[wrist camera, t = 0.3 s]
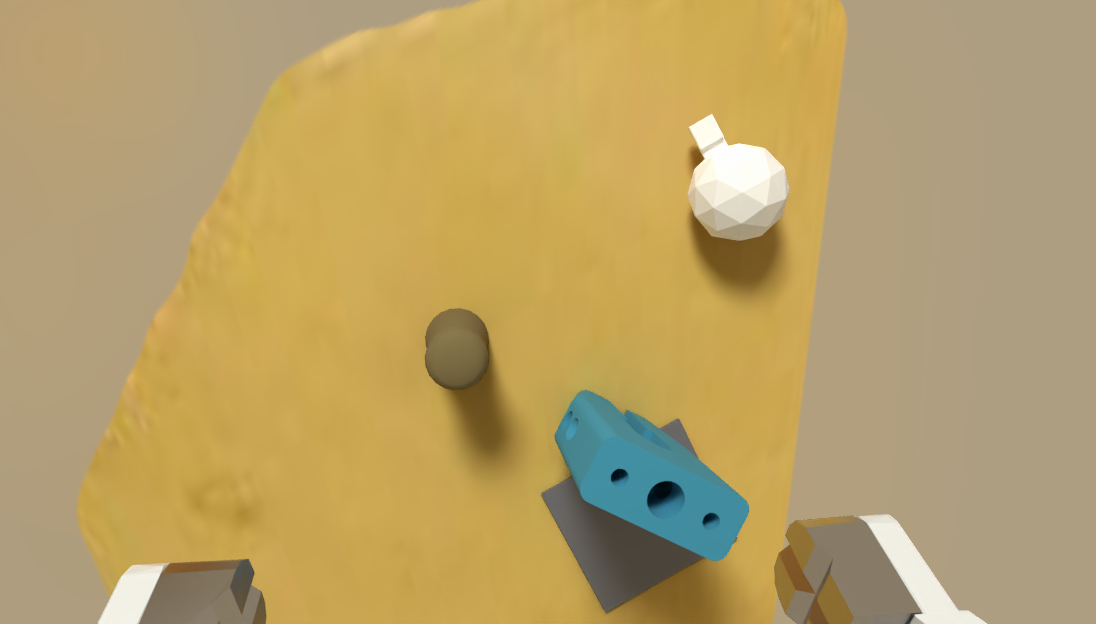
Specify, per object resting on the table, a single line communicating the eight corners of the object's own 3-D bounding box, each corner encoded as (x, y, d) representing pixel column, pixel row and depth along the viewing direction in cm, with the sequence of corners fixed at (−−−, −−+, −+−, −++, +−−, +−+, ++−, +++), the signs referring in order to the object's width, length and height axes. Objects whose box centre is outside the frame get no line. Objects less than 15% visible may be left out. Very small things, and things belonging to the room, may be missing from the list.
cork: (499, 349, 62) (508, 375, 52) (446, 381, 62) (443, 413, 51) (468, 296, 61) (470, 311, 51) (413, 328, 61) (403, 350, 50)
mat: (735, 536, 69) (737, 538, 68) (604, 610, 68) (605, 612, 67) (678, 418, 66) (679, 419, 66) (541, 493, 65) (541, 495, 64)
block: (542, 423, 64) (574, 496, 44) (565, 379, 64) (608, 431, 44) (646, 473, 66) (721, 565, 46) (668, 430, 65) (753, 503, 46)
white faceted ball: (796, 212, 63) (739, 103, 62) (815, 214, 54) (749, 87, 53) (715, 254, 65) (659, 150, 64) (721, 263, 56) (656, 142, 56)
